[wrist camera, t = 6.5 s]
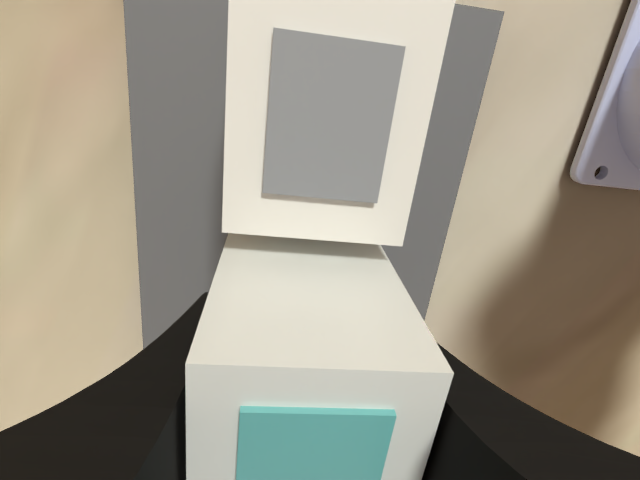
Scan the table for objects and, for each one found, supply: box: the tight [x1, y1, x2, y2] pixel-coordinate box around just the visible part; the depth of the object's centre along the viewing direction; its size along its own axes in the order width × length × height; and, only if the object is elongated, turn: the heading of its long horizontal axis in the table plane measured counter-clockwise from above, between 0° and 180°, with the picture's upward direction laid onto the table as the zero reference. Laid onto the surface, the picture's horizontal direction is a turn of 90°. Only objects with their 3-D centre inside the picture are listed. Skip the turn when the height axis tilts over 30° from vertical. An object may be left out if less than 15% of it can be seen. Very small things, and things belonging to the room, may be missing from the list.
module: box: [185, 233, 454, 480], centre depth 10 cm, size 4×4×7 cm
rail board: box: [123, 0, 504, 349], centre depth 13 cm, size 11×18×6 cm, turn 173°
